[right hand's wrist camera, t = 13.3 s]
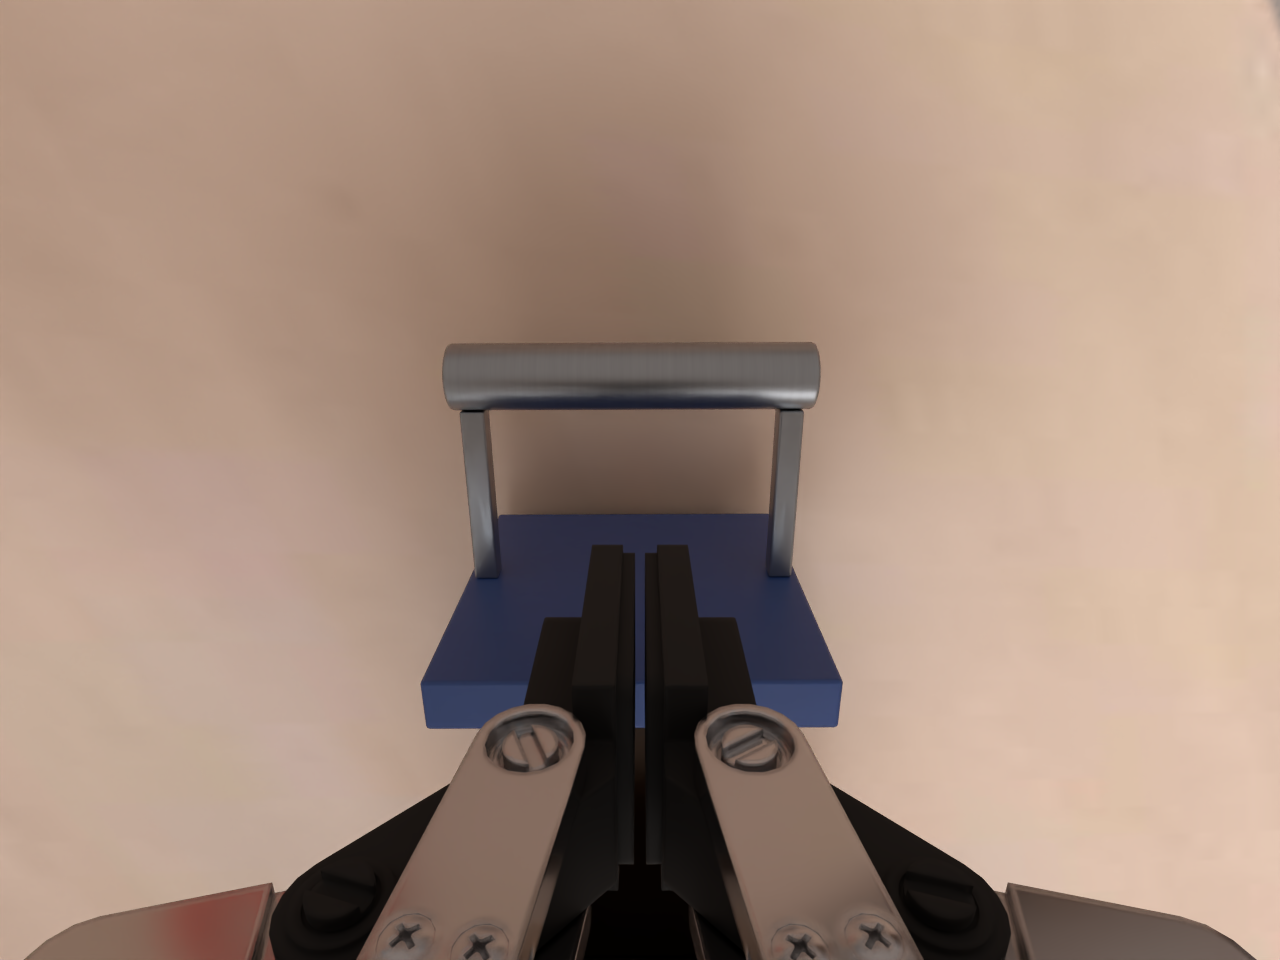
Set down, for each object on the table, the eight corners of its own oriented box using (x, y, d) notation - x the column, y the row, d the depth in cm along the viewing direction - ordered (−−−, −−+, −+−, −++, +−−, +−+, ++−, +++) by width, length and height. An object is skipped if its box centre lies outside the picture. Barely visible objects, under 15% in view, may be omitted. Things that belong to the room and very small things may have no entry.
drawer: (483, 320, 20) (378, 389, 12) (782, 319, 20) (879, 387, 12) (533, 944, 29) (492, 1225, 21) (742, 943, 29) (781, 1224, 21)
